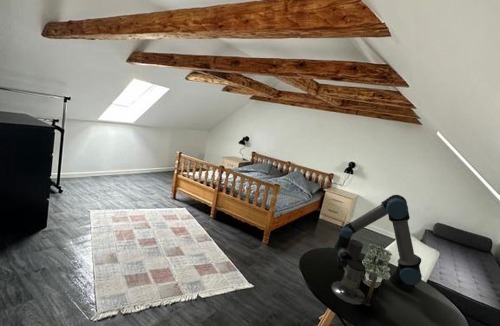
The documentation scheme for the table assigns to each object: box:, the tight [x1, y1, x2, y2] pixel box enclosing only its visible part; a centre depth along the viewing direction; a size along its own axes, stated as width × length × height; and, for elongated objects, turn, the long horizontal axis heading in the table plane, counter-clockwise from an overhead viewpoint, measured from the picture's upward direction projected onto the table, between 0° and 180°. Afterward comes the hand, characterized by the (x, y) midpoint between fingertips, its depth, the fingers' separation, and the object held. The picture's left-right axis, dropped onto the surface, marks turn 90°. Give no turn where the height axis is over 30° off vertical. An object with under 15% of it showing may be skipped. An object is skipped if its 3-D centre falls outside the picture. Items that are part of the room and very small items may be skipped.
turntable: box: [331, 280, 366, 306], centre depth 171 cm, size 20×20×1 cm
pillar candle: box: [348, 238, 364, 261], centre depth 212 cm, size 10×10×15 cm
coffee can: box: [340, 259, 366, 290], centre depth 168 cm, size 10×10×14 cm
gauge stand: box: [362, 271, 379, 308], centre depth 162 cm, size 5×4×19 cm
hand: (355, 277), depth 164 cm, fingers closed on coffee can, 10 cm apart
